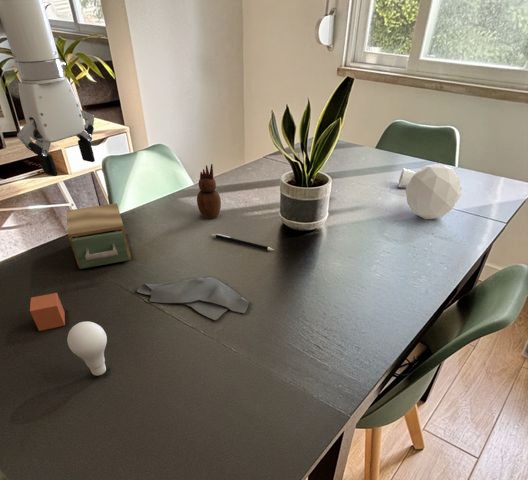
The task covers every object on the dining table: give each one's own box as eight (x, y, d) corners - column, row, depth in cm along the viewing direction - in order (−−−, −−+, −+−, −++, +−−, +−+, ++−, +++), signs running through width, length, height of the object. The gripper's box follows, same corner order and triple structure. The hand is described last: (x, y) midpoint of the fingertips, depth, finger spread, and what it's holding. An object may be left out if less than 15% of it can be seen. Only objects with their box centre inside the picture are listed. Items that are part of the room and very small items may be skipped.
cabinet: (131, 259, 107) (123, 225, 101) (79, 269, 104) (67, 234, 98) (125, 235, 118) (117, 203, 112) (77, 243, 115) (66, 210, 109)
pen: (212, 235, 117) (212, 231, 116) (274, 250, 110) (274, 246, 109) (211, 237, 116) (210, 233, 115) (273, 252, 109) (273, 248, 108)
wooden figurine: (225, 214, 127) (221, 162, 117) (214, 222, 123) (208, 168, 113) (207, 210, 130) (201, 158, 120) (195, 217, 126) (188, 164, 116)
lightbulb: (80, 367, 78) (61, 319, 70) (115, 358, 79) (99, 310, 72) (83, 390, 73) (63, 341, 66) (120, 379, 75) (103, 331, 68)
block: (38, 331, 86) (29, 311, 83) (39, 317, 89) (30, 297, 86) (65, 325, 87) (56, 305, 84) (64, 312, 91) (56, 292, 87)
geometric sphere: (428, 238, 125) (436, 211, 111) (393, 206, 130) (396, 175, 116) (466, 207, 125) (479, 175, 110) (429, 175, 129) (437, 141, 115)
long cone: (458, 200, 137) (398, 189, 139) (456, 194, 142) (397, 184, 144) (465, 181, 134) (403, 171, 136) (462, 176, 139) (403, 166, 141)
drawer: (131, 269, 102) (124, 241, 97) (81, 279, 99) (72, 250, 94) (123, 236, 115) (116, 210, 110) (78, 244, 112) (70, 217, 107)
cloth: (262, 293, 95) (262, 285, 93) (231, 327, 86) (230, 318, 84) (168, 267, 104) (167, 259, 103) (131, 295, 95) (128, 287, 94)
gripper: (66, 63, 85) (90, 153, 97) (-15, 77, 74) (23, 177, 86) (91, 65, 82) (114, 158, 93) (11, 80, 71) (47, 184, 82)
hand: (71, 167), depth 89 cm, fingers open, 9 cm apart
